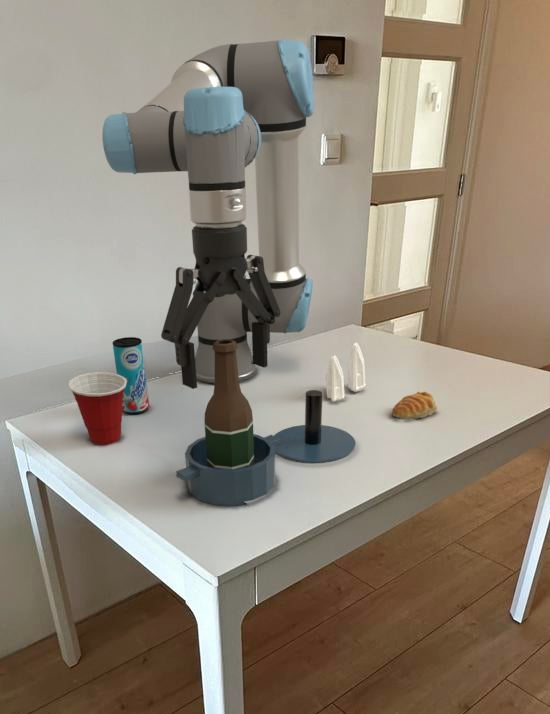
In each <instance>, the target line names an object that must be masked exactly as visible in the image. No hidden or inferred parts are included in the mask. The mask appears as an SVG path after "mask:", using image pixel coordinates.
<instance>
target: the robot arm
mask: <svg viewBox="0 0 550 714" xmlns="http://www.w3.org/2000/svg"><path fill="white" fill-rule="evenodd" d="M312 68H313V67H312V62H311V57H310V52H309V50H308V47H307V45H306V44H305V43H304V42H303V41H300V40H284V39H279V40H268V41H258V42H248V43H235V44H234V43H227V44H222V45H218V46H214V47H211V48H209V49H206V50H205V51H203V52H200V53H198V54H197V55H195V56H193V57H192V58H191V57H190V58H189V59H188V60H186V61H185V62H184V63H182V64H181V65H180V66H179V67H178V68H177V69H176V70H175V71H174V73H173V75H172V77H171V81H170V83H169V84H168V85H167V86H165V87H164V88H163V89H162V90H161V91H160V92H159V93H157V94H156V95H155V96H154V97H153V98H152V99H150V100H149V101H147V103H146V104H144V105H143V106H142V107H141V108H139V109H138V110H137V111H135V112H126V111H125V112H124V111H123V112H121V113H114V114H109V115H108V116H107V117H106V118H105V120H104V122H103V125H102V135H101V137H102V146H103V152H104V155H105V160H106V161H107V163H108V165H109V167H110V169H112V170H113V171H114V172H116V173H120V174H121V173H123V174H124V173H125V174H133V175H137V174H147V173H149V174H150V173H174V172H187V176H188V178H187V179H188V194H189V195H188V196H189V212H190V213H189V216H190V221H191V222H192V223H193V224H195V225H194V226H193V227H192V229H191V241H192V253H193V255H194V258H195V265H194V268H188V267H187V268H186V267H182V266H178V267H176V269H175V286H174V289H173V293H172V296H171V300H170V303H169V307H168V310H167V314H166V317H165V320H164V323H163V327H162V331H161V334H160V335H161V339H163V340H164V341H167V342H170V343H172V344H174V349H175V350H174V351H175V361H176V364H177V366H180V370H181V371H180V372H181V380H182V381H181V384H182V385H183V386H186V387H188V388H190V389H192V390H194V389H197V388H198V381H199V382H202V383H207V384H212V385H213V384H214V385H215V351H214V350H213V344H214V343H215V342H216V341H218V340H222V339H231V340H233V341H235V342H236V344H237V347H238V348H237V349H236V357H237V367H238V377H239V383H241V382H243V381H247V380H249V379H251V378H253V377H254V376H255V375H256V373H257V372H256V366H258V367H261V368H262V369H263V368H267V367H268V344H270V340H271V333H272V334H273V333H277V334H278V333H280V334H284V335H285V334H289V333H290V334H291V333H300V332H302V331H304V329H305V328H306V326H307V322H308V317H309V311H310V306H311V301H312V300H311V299H312V294H313V281H314V280H313V279H311V278H310V277H307V275H306V274H307V271H306V268H305V267H304V266H303V265H302V264H300V256H299V255H300V252H299V251H300V248H299V247H300V245H299V243H300V242H299V241H300V238H299V237H300V236H299V235H300V233H299V232H300V231H299V230H300V229H299V225H300V224H299V222H300V221H299V137H300V135H302V133H303V132H304V131H305V129H306V128H307V118H310V117H312V116H313V115H314V113H315V87H314V85H315V84H314V78H313V77H314V76H313V69H312ZM253 161H254V169H255V192H256V195H255V196H256V214H257V215H256V216H257V218H256V219H257V235H258V236H257V239H258V241H257V243H258V255H255V254H248V255H247V256H245V254H247V252H248V232H247V231H248V228H247V226H246V225H245V224H243V222H244V221H245V220H246V219H247V197H246V196H247V195H246V193H247V192H246V168H248V166H249V165H251V163H253ZM246 272H247V273H248V277H249V278H247V275H246V274H247V273H246ZM194 284H195V285H194ZM191 297H192V298H191ZM196 329H197V342H198V343H197V350H196V352H195V343H194V342H191V341H190V340H191V338H192V336H193V335H194V333H195V331H196ZM248 333H251V340H252V341H251V343H252V344H251V345H252V347H251V348H252V349H251V348H250V345H249V343H248Z"/></svg>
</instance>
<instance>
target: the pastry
mask: <svg viewBox="0 0 550 714" xmlns="http://www.w3.org/2000/svg"><path fill="white" fill-rule="evenodd" d="M437 410H438V405H437V404H436V400H435V399H434V395H432V394H431V393H430V392H427V391H421V392H420V391H417V392H416V393H413V394H408V395H406V396H403V397H402V398H401V399H400V400H399V401H398V402H397V403H395V405H394V406H393V408H392V417H395V418H398V419H401V420H409V419H413V420H418V419H424V418H426V417H428V416H431V415H433V414H435V412H436V411H437Z"/></svg>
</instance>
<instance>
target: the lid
mask: <svg viewBox="0 0 550 714" xmlns="http://www.w3.org/2000/svg"><path fill="white" fill-rule="evenodd" d="M304 398H305V399H304V400H305V401H304V402H305V403H304V404H305V405H304V410H305V411H304V424H301V425H295V426H290V427H286V428H284V429H281V430H279V431H278V432H277V433H275V434H274V435H273V436H275V437H277V438H279V439H280V444H279V445H276V446H274V447H275V455H276V454H277V455H278V456H280V457H281V458H284V459H286V460H289V461H293V462H296V463H297V462H298V463H304V464H305V463H306V464H322V463H331V462H335V461H338V460H342V459H343V458H346V457H347V456H350V455H351V454H352V453H353V452H354V450H355V448H356V439H355V438H354V436H352V435H351V434H350V433H349V432H347V431H346V430H343V429H341V428H338V427H334V426H330V425H324V424H322V423H323V421H322V419H323V418H322V417H323V391H321V390H317V389H311V390H307V391H305V397H304Z"/></svg>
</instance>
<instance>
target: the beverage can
mask: <svg viewBox="0 0 550 714" xmlns="http://www.w3.org/2000/svg"><path fill="white" fill-rule="evenodd" d="M142 342H143V341H142V339H141V338H139V337H135V336H128V337H121V338H116V339H115V340H113V341H112V349H113V356H114V363H115V371H116V374H118V375H120V376H123V377H124V378H125V379H126V380H127V384H126V387H125V388H124V393H123V404H122V412H123V413H125V414H128V415H140V414H144V413H146V412H147V411H148V410H149V409H150V400H149V391H148V383H147V373H146V366H145V365H146V364H145V358H144V356H145V355H144V350H143V349H144V348H143V343H142Z"/></svg>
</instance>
